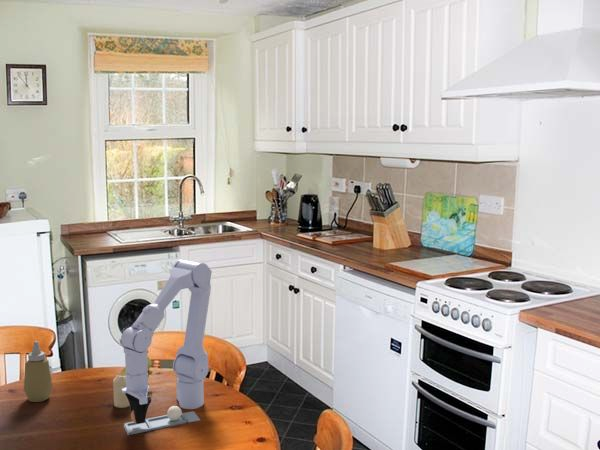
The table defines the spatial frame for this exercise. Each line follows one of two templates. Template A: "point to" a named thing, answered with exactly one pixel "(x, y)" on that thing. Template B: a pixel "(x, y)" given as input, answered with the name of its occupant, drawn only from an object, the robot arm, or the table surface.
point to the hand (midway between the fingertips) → (138, 419)
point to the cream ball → (174, 413)
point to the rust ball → (133, 416)
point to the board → (159, 423)
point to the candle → (120, 391)
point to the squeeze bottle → (37, 376)
